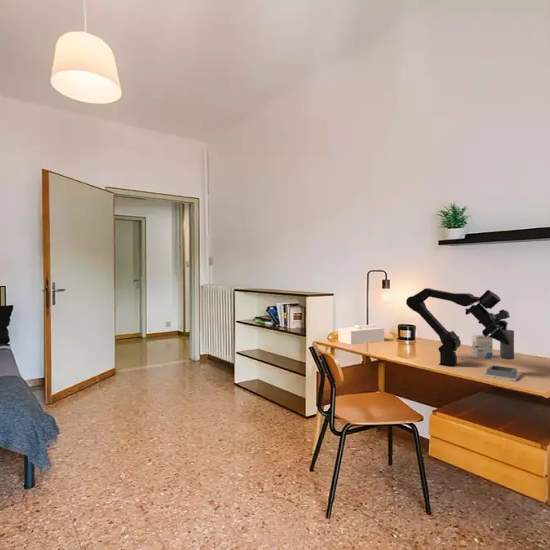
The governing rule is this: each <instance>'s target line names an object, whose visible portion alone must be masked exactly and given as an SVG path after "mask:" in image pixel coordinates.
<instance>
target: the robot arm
mask: <svg viewBox="0 0 550 550" xmlns="http://www.w3.org/2000/svg"><path fill="white" fill-rule="evenodd" d="M428 298H433V299H439V300H443V301H450V302H452V303H454V304H456V305H458V306H460V307H461V306H462V307H464V308H465V307H466V308H465V313H464V314H465V316H467V315H470V314H471V315H473V316H474V318H475V319H476V320H477V321H478V324H479V325H482V326H483V327H484V329H482V331H481V332H482V333H481V334H483V335H484V336H485V337H487V336H488V335H490V336H489V337H491V338H492V340H495V341H498V342H499V343H500V342H502V343H504V344H507V345H509V344H510V343H509V341H508V340H507V339H506V337H505V336H504V335H503V334H502V330H508V324H509V323H508V322H507V320H506V319H509V318H511V316H510V312H508V310H505V309H501V310H498V311H499V312H498V313H495V314H494V313H493V312H489V311H488V310H487V309H489V310H492V308H494V307H495V306H496V305H497V304H499V303H500V302H501V301H502V299H501V298H500V296H498V295H497V294H495V292H493V291H491V290H490V289H487V290H485V292H484V293H483V294H482V295H481V296H475V295H473V294H472V293H469V292H467V293H466V292H465V293H464V292H463V293H461V292H459V293H457V292H449V291H445V290H444V291H443V290H437V289H433V288H430V287H429V288H428V287H427V288H423V289H422V290H421V291H419V292H417V293H416V294H414V295H412V296H409V297H407V298H406V305H407V307H408V308H409V309H410V310H412V311H413V312H415V313H417V314H418V315H419V316H420V317H421V318H422V319H423V320H424V321H425V322H426V323H427V324H428V325H429V327H430V328H431V329H432V330H433V331H434V332H435V334H437V336H438V337H439V340H440V342H441V344H442V345H440V346H439V347H438V348H437V349H438V351H439V364H438V365H440V366H446V367H452V368H453V367H455V366H456V365H457V366H458V355H457V353H456V352H457V350H458V348H459V347H460V346H461V344H462V343H461V339H460V336H458V335H457V333H456V332H455V331H453V330H451V331H449V330H448V329H446V327H445V326H444V325H443V324H442V323H441V322H440V321H439V320H438V319H437V318H436V317H435V316H434V315H433V314H432V313H431V311H430V310H429V309H428V308H427V306H426V303H425V301H426V300H427V299H428ZM475 303H477V304H475ZM469 306H470V307H469ZM467 307H469V308H467Z"/></svg>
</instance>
